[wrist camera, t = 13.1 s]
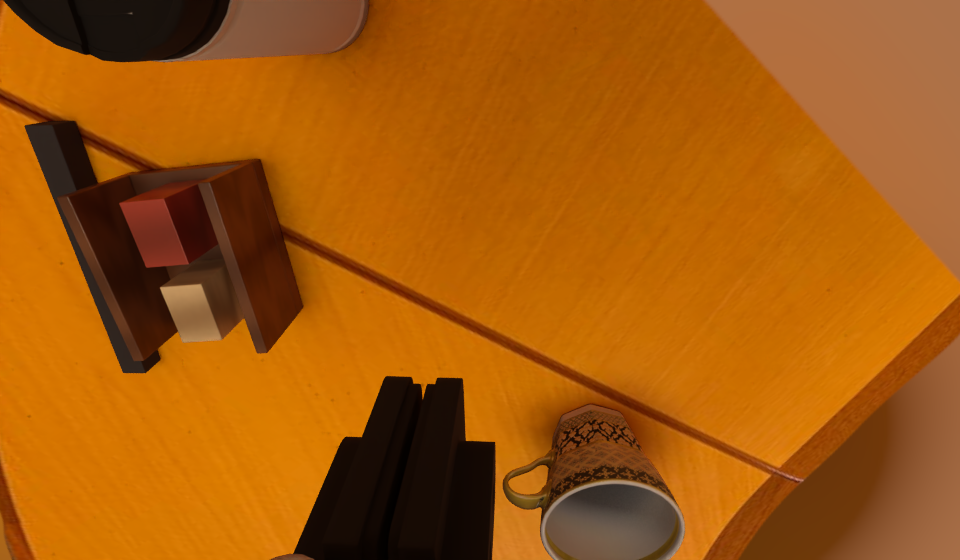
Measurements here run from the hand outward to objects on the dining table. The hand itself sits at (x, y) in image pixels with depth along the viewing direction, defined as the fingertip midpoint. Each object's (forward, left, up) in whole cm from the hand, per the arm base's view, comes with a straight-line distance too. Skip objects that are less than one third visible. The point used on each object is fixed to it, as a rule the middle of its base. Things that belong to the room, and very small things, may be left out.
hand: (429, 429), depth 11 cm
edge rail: (+6, -30, -26) cm, 40 cm away
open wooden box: (+6, -21, -26) cm, 34 cm away
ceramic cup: (+23, +7, -27) cm, 36 cm away
